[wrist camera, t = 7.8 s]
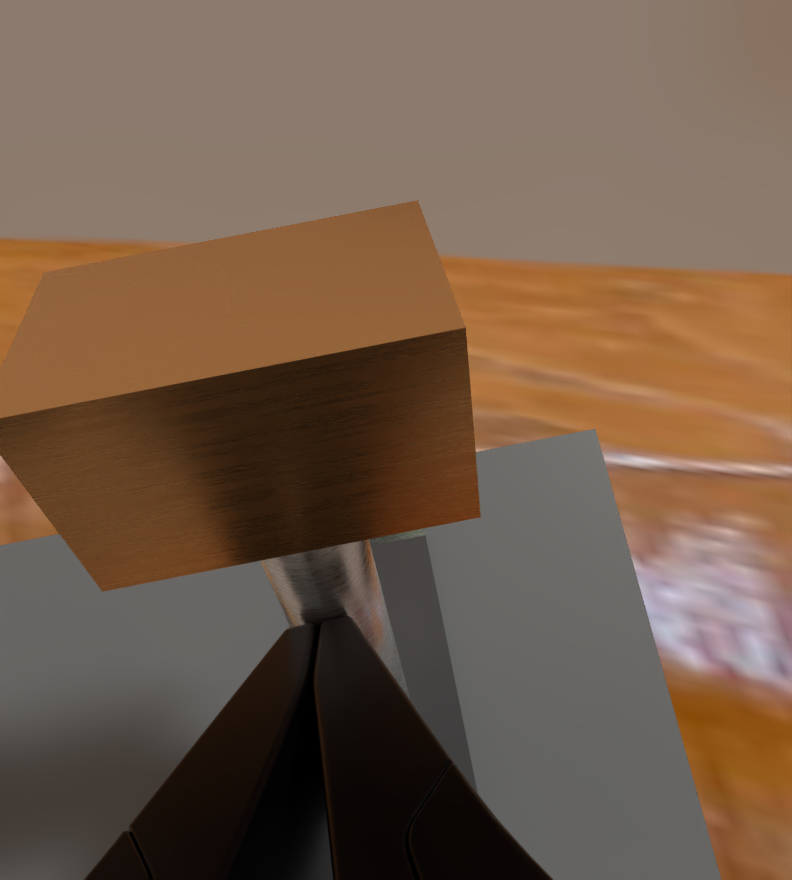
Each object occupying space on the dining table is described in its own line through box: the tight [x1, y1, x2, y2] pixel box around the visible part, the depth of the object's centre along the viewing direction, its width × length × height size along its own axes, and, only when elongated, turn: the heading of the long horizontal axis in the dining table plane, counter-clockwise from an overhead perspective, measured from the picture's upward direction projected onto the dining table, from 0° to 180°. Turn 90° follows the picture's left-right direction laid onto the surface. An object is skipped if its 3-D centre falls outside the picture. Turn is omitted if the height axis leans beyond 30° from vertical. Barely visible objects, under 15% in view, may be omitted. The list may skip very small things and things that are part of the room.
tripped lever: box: [0, 201, 481, 699], centre depth 10 cm, size 2×4×11 cm, turn 101°
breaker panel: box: [0, 429, 721, 880], centre depth 16 cm, size 12×20×3 cm, turn 101°
